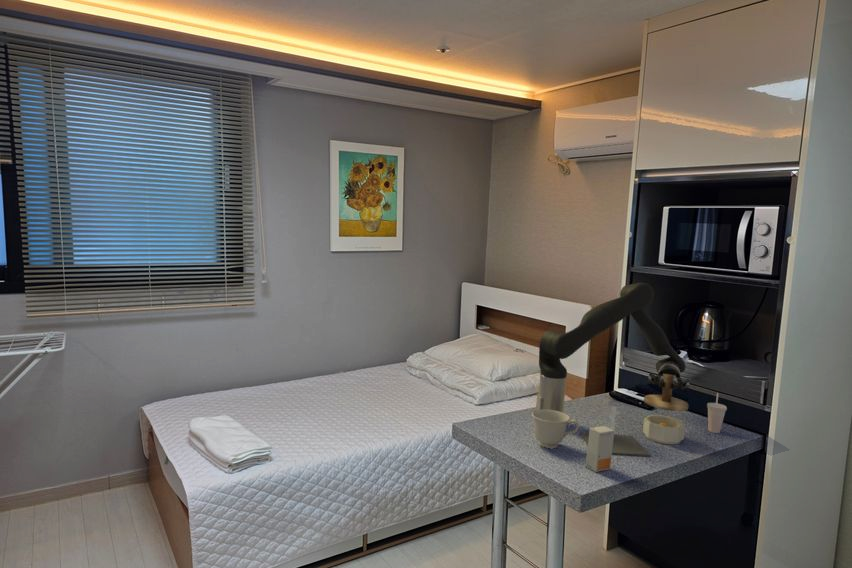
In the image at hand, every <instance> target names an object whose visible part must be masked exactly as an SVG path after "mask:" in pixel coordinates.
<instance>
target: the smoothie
mask: <svg viewBox="0 0 852 568" xmlns="http://www.w3.org/2000/svg"><path fill="white" fill-rule="evenodd" d="M718 401H719V392H717V393H716V399H715V402H707V403H706V408H707V424H708V425H707V427H708V432H710V433H713V434H720V433H721V429H722V425H723V423H724V417H725V414H726V411H727V410H728V408H727V406H726V405H725V404H722V403H718Z"/></svg>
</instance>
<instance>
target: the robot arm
mask: <svg viewBox="0 0 852 568" xmlns="http://www.w3.org/2000/svg"><path fill="white" fill-rule="evenodd" d="M654 297H655V291H654V289H653V287H652V286H651V285H650V284H648V283H646V282H636V283H632V284H625V285H624V286H623V287H622V288H621V290H620V294H619V297H617V298H614V299H610V300H608V301H605V302H602V303H600V304H598V305H596V306H594V307H593V308H591V309H590V310H588V311H587V312H585V313H584V315H583V316H582V318H581V321H580V323H579V324H578V326H576V327H575V328H573V329H572V330H570V331H568V332H561V331H558V330H554V329H547V330H546V331H545V332H544V333H543V334H542V335H541V338H540V339H539V345H538V346H539V349H538V365H539V369H540V370H539V371H540V373H539V387H538V392H537V393H536V405H535V410H540V409H548V410H555V411H559V412H562V413H564V408H565V400H566V399H565V398H566V389H567V387H566V385H567V375H568V371H567V368H566V367H565V366H564V365H563V363H562V362H561V360H564V359H568V358H569V357H571V356H572V355H573V354H575V352H577V351H578V350H579V349H581V347H583V346H584V345H586V344H587V343H588V342H590V341H591V340H593V339H594V338H596V337H598V336H599V335H600V334H603V332H605V331H607V330H609V329H610V328H612V327H613V326H615V325H616V324H618V323H619V322H620V321H622V320H624V319H625V318H627V317H628V316H629V315H630V316H631V317H632V319H633V320H634V322H635V323H636V324H637V326H638V327H639V328H640V330H641V332H642V333H643V336H644V337H645V339H646V341H647V342H648V345H649V347H650V349H651V351H652V353H653V355H654V356H656V357H659V356H660V357H663V356H668V357H666V358H663V359H660V360H658V361H657V362H656V363H655V369H656V372H657V374H656V375H655V374H653V373H650V372H649V374H648V381H649V382H650V383H651V384H653V385H655V386H657V385H658V387H660V389H663V384H664V374H670V375H673V376H674V380H673V387H672V391H675V390H677V389H679V390H684V389H687V388H689V387H690V379H688V378H687V379H683V378H682V377H681V375H682V373H684V372H685V370H686V367H687V366H686V362H685V361H684V359H683V358H682V357H681V356H680V355H679V354H678V353H677V351H676V350H674V348H673V347H672V345H671V344H670V341H669V340H668V337H667V335H666V333H665V332H664V330H663V328H662V327H661V326H660V325H659V324H658V323H656V322H655V321H654V319H652V318H651V317H650V315H648V313H647V312H646V310H645V309H644V308H645V307H648V306H649V305H650V304H651V303H652V302H653V300H654Z"/></svg>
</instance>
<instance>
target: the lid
mask: <svg viewBox="0 0 852 568" xmlns="http://www.w3.org/2000/svg"><path fill="white" fill-rule="evenodd" d="M673 380H674V376H673V375H670V374H664V384H663V388H662V390H661V391H662V394H647V395H645V396H644V397H643V402H644V403H645V404H646V405H647V406H650V407H652V408H656V409H659V410H664V411H669V412H686V411H687V410H689V403H688V402H687V401H685V400H682V399H679V398H677V397H674V396H673V390H672V387H673Z"/></svg>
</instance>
